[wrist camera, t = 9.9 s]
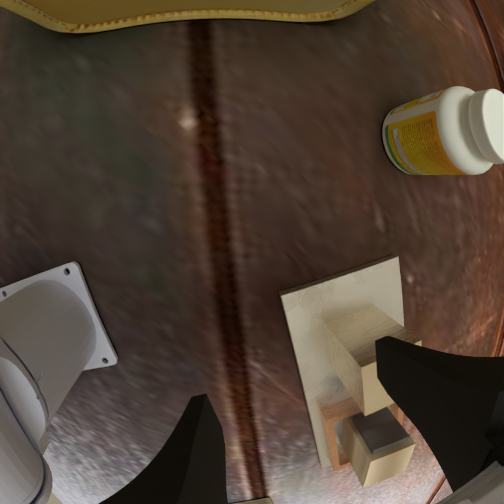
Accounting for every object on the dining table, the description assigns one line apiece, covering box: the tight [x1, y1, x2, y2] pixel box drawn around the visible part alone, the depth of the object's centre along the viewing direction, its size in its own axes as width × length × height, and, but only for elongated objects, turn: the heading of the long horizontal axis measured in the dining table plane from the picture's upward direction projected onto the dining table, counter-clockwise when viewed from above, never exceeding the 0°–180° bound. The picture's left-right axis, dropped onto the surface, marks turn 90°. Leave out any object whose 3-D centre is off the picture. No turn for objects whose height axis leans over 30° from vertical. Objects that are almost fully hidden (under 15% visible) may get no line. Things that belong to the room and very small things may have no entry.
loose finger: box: [340, 407, 416, 488], centre depth 20 cm, size 4×5×6 cm
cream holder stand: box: [279, 255, 421, 471], centre depth 19 cm, size 9×20×7 cm, turn 15°
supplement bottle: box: [382, 86, 504, 175], centre depth 15 cm, size 5×5×10 cm
